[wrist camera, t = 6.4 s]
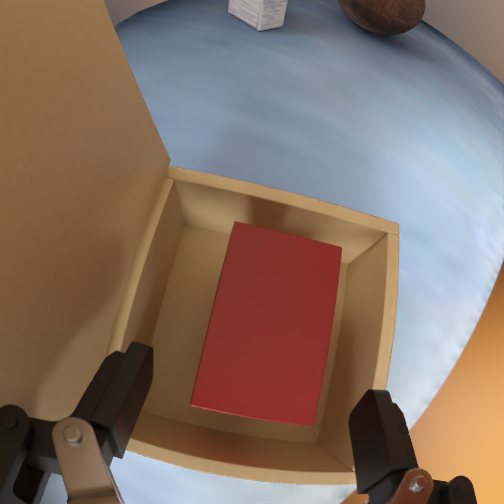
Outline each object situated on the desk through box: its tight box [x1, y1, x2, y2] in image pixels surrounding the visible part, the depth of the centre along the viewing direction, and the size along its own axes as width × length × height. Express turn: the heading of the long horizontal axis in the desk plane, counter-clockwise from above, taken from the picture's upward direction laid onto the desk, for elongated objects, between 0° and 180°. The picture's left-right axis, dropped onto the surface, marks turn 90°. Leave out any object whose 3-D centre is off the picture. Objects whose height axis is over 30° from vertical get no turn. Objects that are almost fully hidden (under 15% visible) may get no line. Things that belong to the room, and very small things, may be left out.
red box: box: [190, 221, 342, 426], centre depth 15 cm, size 4×7×9 cm, turn 168°
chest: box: [106, 166, 399, 485], centre depth 16 cm, size 14×15×7 cm
